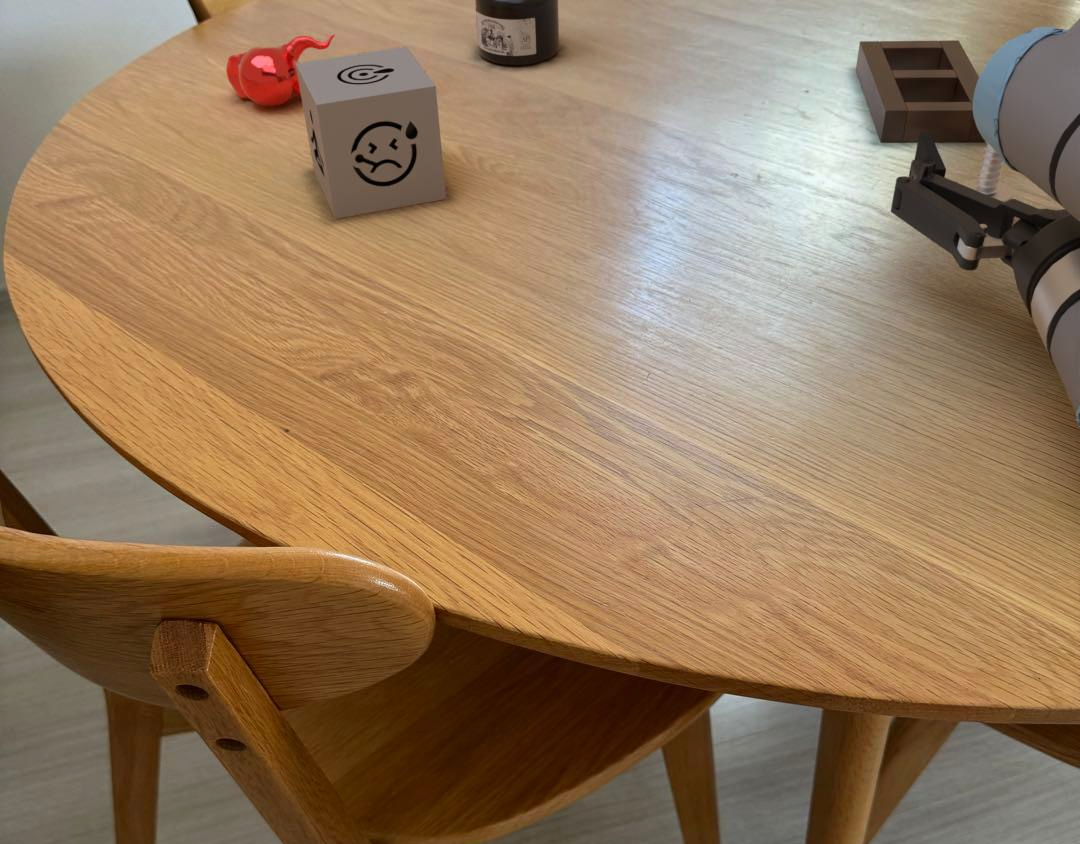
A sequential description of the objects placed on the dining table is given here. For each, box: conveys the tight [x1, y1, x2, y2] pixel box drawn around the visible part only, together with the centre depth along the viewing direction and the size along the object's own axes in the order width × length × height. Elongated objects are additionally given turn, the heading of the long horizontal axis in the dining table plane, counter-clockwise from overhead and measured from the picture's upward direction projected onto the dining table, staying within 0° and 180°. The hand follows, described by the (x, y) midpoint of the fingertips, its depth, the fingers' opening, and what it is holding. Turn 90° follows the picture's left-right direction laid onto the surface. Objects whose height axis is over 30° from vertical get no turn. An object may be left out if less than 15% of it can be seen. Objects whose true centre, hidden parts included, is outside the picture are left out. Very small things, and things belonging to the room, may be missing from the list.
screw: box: [961, 141, 1017, 202], centre depth 92 cm, size 13×5×5 cm
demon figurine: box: [225, 33, 336, 107], centre depth 119 cm, size 8×6×12 cm
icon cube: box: [295, 46, 447, 220], centre depth 102 cm, size 10×10×10 cm
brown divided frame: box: [855, 39, 986, 143], centre depth 113 cm, size 10×18×3 cm, turn 176°
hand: (1011, 148), depth 89 cm, fingers open, 13 cm apart
